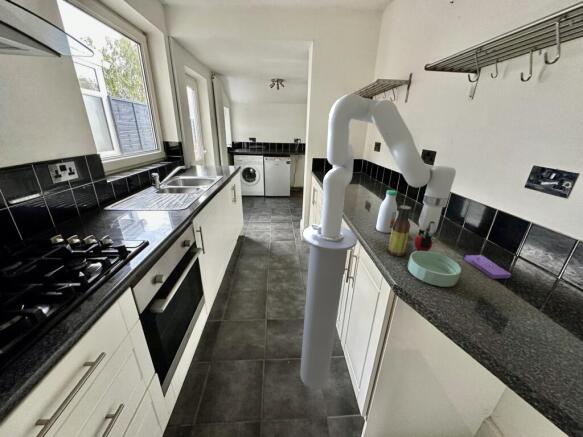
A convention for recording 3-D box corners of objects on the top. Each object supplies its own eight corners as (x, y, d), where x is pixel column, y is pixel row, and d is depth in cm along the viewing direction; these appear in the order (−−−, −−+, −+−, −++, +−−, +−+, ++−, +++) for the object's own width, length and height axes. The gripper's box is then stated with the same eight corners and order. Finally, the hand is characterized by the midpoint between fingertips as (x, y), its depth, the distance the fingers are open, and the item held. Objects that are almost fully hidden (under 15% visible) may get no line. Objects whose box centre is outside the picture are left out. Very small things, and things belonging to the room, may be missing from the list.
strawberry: (421, 249, 98) (427, 227, 94) (432, 259, 91) (439, 236, 87) (407, 249, 97) (413, 227, 93) (418, 259, 90) (424, 236, 86)
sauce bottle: (398, 248, 97) (408, 204, 90) (407, 256, 92) (419, 209, 84) (383, 249, 96) (393, 204, 89) (392, 257, 91) (403, 209, 83)
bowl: (409, 280, 77) (412, 268, 75) (405, 258, 90) (408, 247, 88) (462, 293, 72) (467, 280, 70) (450, 267, 85) (454, 256, 83)
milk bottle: (383, 234, 110) (392, 193, 103) (372, 228, 117) (379, 189, 109) (395, 232, 113) (404, 192, 106) (384, 226, 120) (391, 188, 112)
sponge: (480, 259, 92) (481, 255, 91) (510, 278, 80) (512, 274, 80) (463, 259, 91) (465, 255, 91) (491, 278, 80) (493, 274, 79)
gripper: (420, 193, 94) (410, 232, 101) (427, 205, 79) (414, 250, 86) (441, 196, 92) (430, 235, 98) (452, 209, 77) (437, 255, 83)
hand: (423, 242), depth 92 cm, fingers closed on strawberry, 7 cm apart
